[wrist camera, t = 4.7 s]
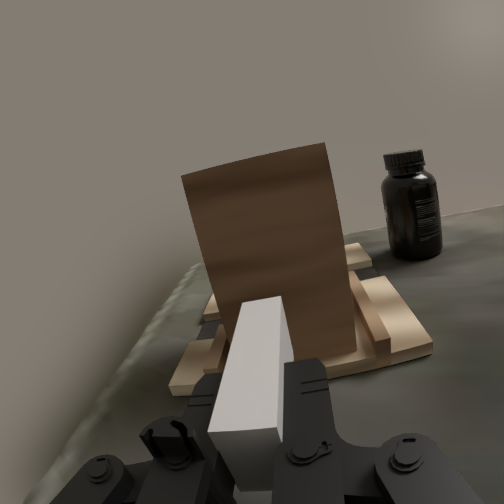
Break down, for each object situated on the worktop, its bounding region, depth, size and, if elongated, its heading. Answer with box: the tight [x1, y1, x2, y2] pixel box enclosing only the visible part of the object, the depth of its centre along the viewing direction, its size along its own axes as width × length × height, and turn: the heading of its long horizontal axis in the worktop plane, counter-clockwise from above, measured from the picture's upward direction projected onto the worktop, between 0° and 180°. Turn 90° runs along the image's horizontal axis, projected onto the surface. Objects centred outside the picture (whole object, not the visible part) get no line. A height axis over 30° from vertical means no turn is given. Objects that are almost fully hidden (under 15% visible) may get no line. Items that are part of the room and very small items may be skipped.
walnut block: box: [181, 143, 357, 361], centre depth 22 cm, size 8×8×13 cm
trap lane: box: [168, 243, 433, 396], centre depth 30 cm, size 24×18×4 cm
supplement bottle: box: [381, 149, 443, 260], centre depth 34 cm, size 7×7×12 cm
